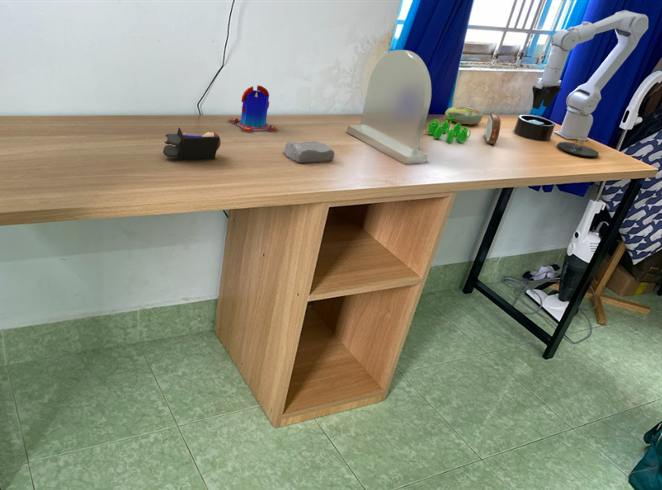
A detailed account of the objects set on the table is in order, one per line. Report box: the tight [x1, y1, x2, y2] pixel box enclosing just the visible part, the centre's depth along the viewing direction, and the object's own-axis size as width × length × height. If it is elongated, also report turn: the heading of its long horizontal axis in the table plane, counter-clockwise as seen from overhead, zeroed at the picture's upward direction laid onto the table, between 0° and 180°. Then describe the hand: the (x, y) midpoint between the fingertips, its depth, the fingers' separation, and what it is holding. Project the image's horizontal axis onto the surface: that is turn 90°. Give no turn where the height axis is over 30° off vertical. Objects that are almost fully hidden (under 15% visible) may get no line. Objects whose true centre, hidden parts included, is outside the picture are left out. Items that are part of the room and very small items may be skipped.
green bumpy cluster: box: [424, 116, 471, 144], centre depth 203 cm, size 15×15×7 cm
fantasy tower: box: [229, 84, 278, 133], centre depth 184 cm, size 12×12×12 cm
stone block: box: [284, 141, 335, 164], centre depth 168 cm, size 12×5×10 cm
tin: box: [484, 112, 502, 145], centre depth 207 cm, size 15×3×8 cm, turn 168°
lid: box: [556, 137, 600, 158], centre depth 210 cm, size 14×14×5 cm
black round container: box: [513, 114, 556, 142], centre depth 221 cm, size 13×13×5 cm
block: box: [528, 120, 544, 125], centre depth 221 cm, size 4×4×4 cm
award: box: [346, 49, 432, 165], centre depth 180 cm, size 28×9×28 cm, turn 32°
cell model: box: [444, 106, 484, 125], centre depth 223 cm, size 11×8×15 cm
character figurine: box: [162, 127, 222, 161], centre depth 155 cm, size 8×7×15 cm
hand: (540, 107), depth 219 cm, fingers open, 7 cm apart
